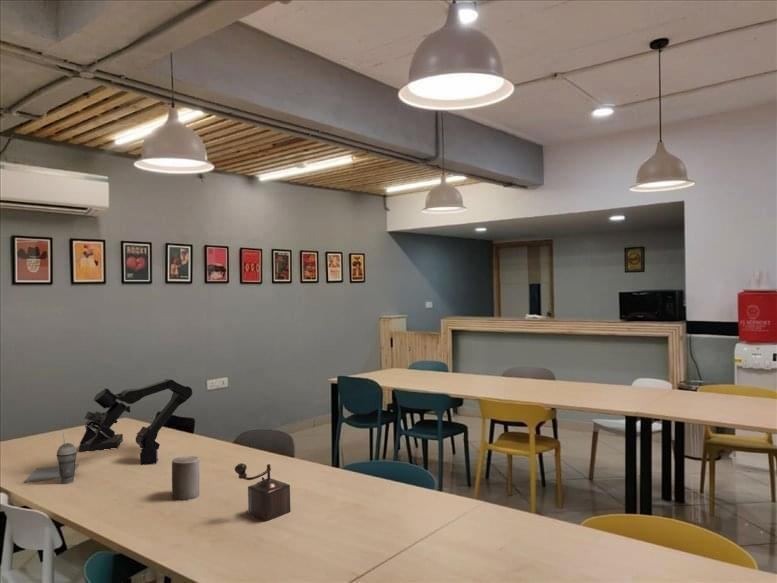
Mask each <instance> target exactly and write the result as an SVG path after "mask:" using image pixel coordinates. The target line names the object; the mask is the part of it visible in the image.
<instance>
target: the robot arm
mask: <svg viewBox="0 0 777 583" xmlns="http://www.w3.org/2000/svg"><path fill="white" fill-rule="evenodd" d="M166 390H170V392H172V394H171V397H170V400H169V401H168V403H167V404H166V405H165V406H164V407H163V409H162V410H161V411H160V412H159V414H158V415H157V416H156V417H155V419H154V420H153V421H152V422H151V423H150V424H149V425H148V426H147V427H145V426H142V427H141V429H140V430H139V431H138V432H137V433H136V436H135V443H136V445H138V446H139V448H140V449H141V451H140V453H139V463H140V465H141V466H142V465H143V464H144V465H152V464H153V463H155V464H157V462H158V461H159V458H158V455H159V454H158V450H159V448H160V446H161V445H160V443H159V442H157V441H156V440H157V437H158V435H159V431H160V430H161V429H162V428H163V426H164V425H165V424H166V422H167V421H168V420H169V419H170V418H171V416H173V414H174V413H175V412H176V410H177V409H178V407H180V406H181V405H182V404H184V403H185V402H187V401H189V399H190V398H191V397H192V396H193V388H191V386H187V385H183V384H181V383H178V382H176V381H175V380H173V379H170V378H167V379H164V380H162V381H158V382H154V383H152V384H147V385H145V386H142V387H139V388H138V387H137V388H129V389H127V388H126V389H124V390H122V391H121V392H120V393H115V394H114V393H113V392H111V390H110V389H109V388H104V389H103V390H101V391H100V392H98V393H97V394H95V396H94V397H93V401H94V402H95V403H96V404H98V405H99V406H100V407H101V408H103V409H106V412H105V411H104V412H103V411H102V412H99V411H95V412H92V411H88V410H87V412H86V414H85V416H84V419H86V420H87V421H86V422H85V423H84V425H85V426H84V428H85V432H84V435H83V436H82V438H81V440H80V442H79V445H80V444H81V445H83V444H84V443H86V442H87V441H89V440H90V439H92V438H93V437H94V438H93V440H92V441H91V443H90V444H89V446H88V448H89V449H90V448H92V447H94V446H96V445H98V444H100V443H102V442H104V441H106V440H109V438H111V439H112V437H113V436H114V435H116V432H115V431H114V430H113V429H111V428H112V426H113V425H114V424H117V423H118V419H119V418H120V417H121V416H122V415H123V413H124V412H126V413H129V414H130V413H131V406H130V405H133V404H135V403H138V401H141V400H142V399H143V398H145V397H147V396H150V395H151V396H152V395H154V394H156V393H160V392H162V391H166ZM118 401H119V402H118ZM126 404H129V405H126ZM108 437H109V438H108Z"/></svg>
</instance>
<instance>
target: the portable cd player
mask: <svg viewBox="0 0 777 583" xmlns="http://www.w3.org/2000/svg"><path fill="white" fill-rule="evenodd" d="M93 438H94V437H93ZM93 438H92V439H90V440H89V441H87V442H86V443H84V444H83V445H81V444H80V443H79V447H78V451H77V452H79V453H87V452H86V451H89V452H96V451H95V450H99V451H105V450H104V449H110V450H112V449H111V448H117V447H118V446H119V447H120V446H121V444H122V443H123V441H124V439H123V438H124V434H123V433H118V434H117V433H115V435H114V436H113V437H112V439H111V438H109V437H108V438H109V440H106V441H104V442H102V443H100V444H98V445H96V446H94V447H92V448H90V449H89V448H88V446H89V444H90V443H91V441H92V440H93ZM121 442H122V443H121ZM120 443H121V444H120ZM119 447H118V448H119ZM118 448H117V449H118Z"/></svg>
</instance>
